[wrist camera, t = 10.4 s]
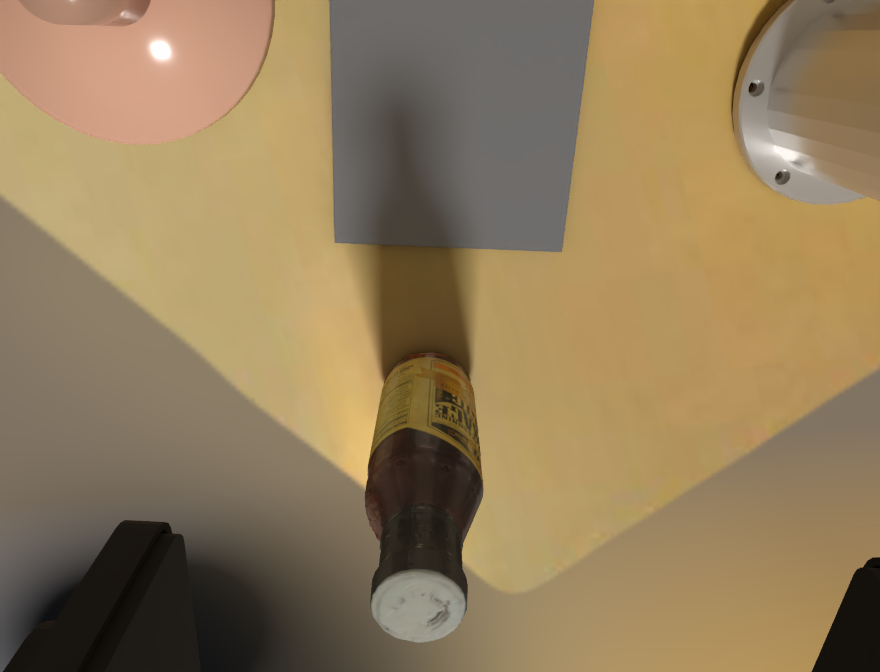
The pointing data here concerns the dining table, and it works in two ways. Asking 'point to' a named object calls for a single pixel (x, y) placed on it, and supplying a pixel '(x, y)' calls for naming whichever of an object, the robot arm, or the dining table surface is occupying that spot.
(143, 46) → the lid
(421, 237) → the mat
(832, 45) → the robot arm
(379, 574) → the sauce bottle
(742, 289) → the dining table surface
